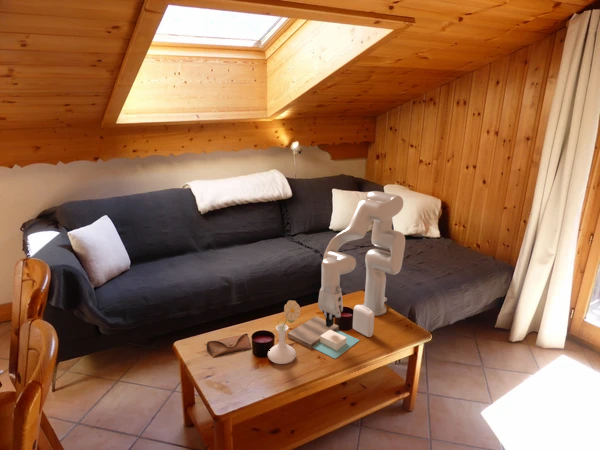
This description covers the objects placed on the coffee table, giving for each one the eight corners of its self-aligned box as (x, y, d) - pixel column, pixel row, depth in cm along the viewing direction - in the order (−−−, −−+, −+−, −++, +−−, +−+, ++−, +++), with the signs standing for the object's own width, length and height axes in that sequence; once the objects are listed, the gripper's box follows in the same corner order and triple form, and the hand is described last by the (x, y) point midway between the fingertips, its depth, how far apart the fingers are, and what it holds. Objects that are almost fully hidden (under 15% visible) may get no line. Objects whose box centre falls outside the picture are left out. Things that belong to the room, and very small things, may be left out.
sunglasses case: (211, 358, 162) (208, 341, 164) (208, 358, 169) (205, 341, 170) (254, 348, 170) (251, 332, 171) (249, 348, 176) (247, 332, 177)
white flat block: (329, 335, 180) (329, 329, 179) (346, 343, 174) (346, 337, 173) (319, 342, 175) (319, 335, 174) (336, 350, 169) (336, 344, 168)
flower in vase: (272, 369, 157) (272, 311, 149) (264, 353, 167) (263, 297, 160) (304, 362, 161) (305, 305, 154) (293, 346, 172) (294, 292, 164)
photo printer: (350, 328, 186) (352, 304, 183) (357, 325, 189) (359, 301, 185) (368, 338, 179) (369, 313, 175) (374, 335, 181) (376, 310, 178)
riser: (316, 319, 193) (316, 315, 192) (338, 329, 185) (338, 325, 184) (287, 336, 178) (287, 332, 178) (310, 348, 170) (310, 344, 170)
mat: (337, 330, 184) (337, 329, 184) (359, 340, 177) (359, 340, 177) (311, 347, 171) (312, 346, 171) (335, 359, 164) (335, 358, 164)
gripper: (350, 289, 168) (349, 328, 173) (321, 279, 177) (321, 316, 183) (339, 296, 162) (338, 335, 168) (310, 285, 172) (310, 323, 177)
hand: (329, 325), depth 175 cm, fingers closed
